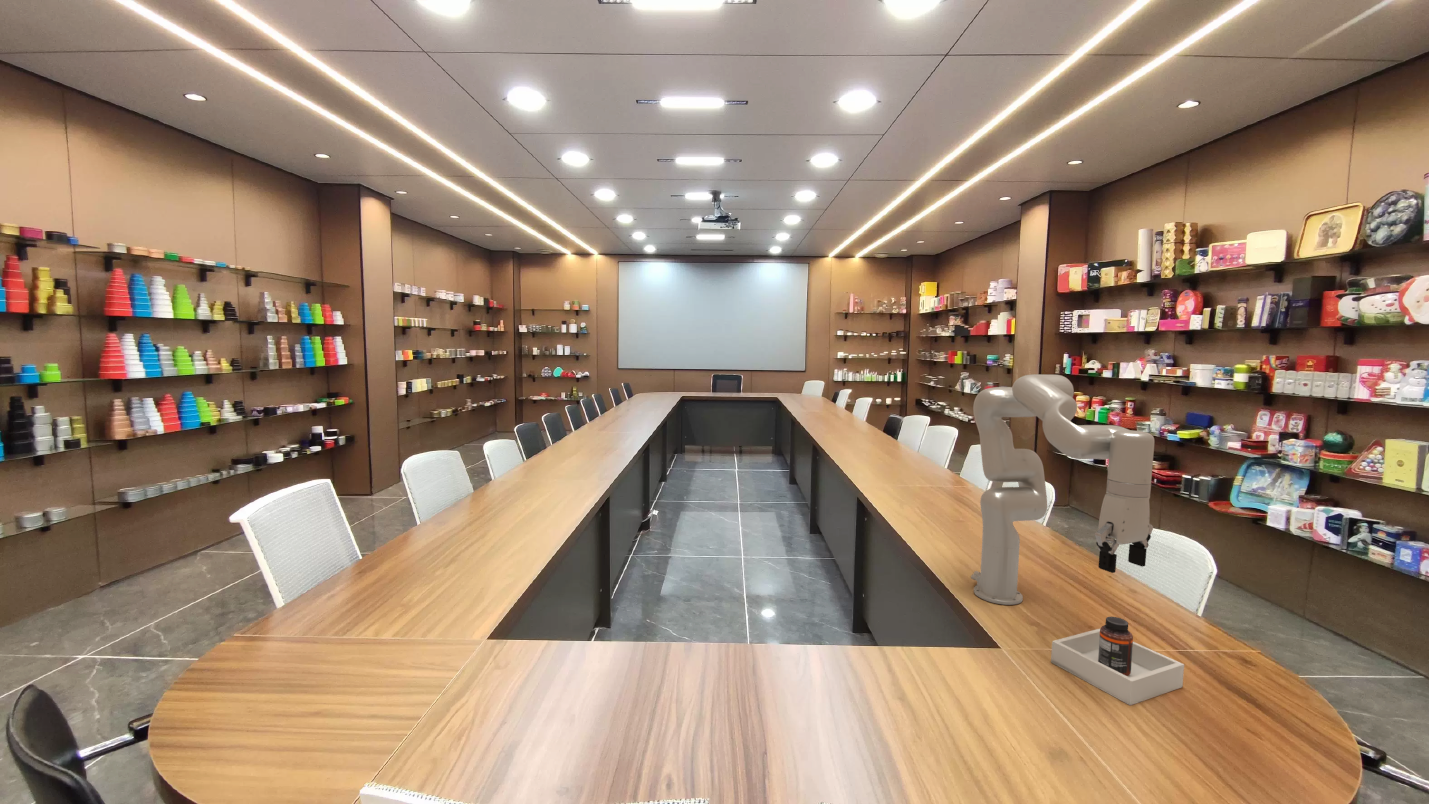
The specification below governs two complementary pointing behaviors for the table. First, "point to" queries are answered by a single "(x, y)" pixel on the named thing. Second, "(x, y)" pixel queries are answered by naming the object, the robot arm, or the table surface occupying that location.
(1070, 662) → the tray
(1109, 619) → the supplement bottle
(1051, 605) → the table surface
